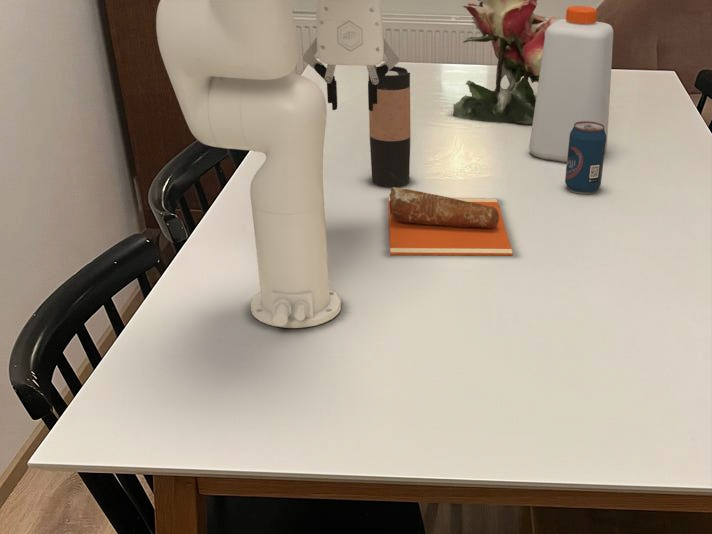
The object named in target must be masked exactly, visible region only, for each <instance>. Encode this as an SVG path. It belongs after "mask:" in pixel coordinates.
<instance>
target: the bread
mask: <svg viewBox="0 0 712 534" xmlns="http://www.w3.org/2000/svg"><path fill="white" fill-rule="evenodd" d="M389 197H390V202H389V201H388V206H389V205H390V215H391V216H392V218H393V219H397V220H399V221H402V222H407V223H414V224H426V225H441V226H451V227H466V228H468V227H471V228H493V227H496V226H497V224H498V222H499V213H498V211H497V209H496V208H494V207H491V206H486V205H481V204H476V203H472V202H467V201H462V200H458V199H453V198H454V197H449V196H443V195H439V194H433V193H429V192H424V191H420V190H419V191H418V190H414V189H409V188H400V187H390V193H389Z"/></svg>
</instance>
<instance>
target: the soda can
mask: <svg viewBox="0 0 712 534" xmlns="http://www.w3.org/2000/svg"><path fill="white" fill-rule="evenodd" d="M606 137H607V136H606V133H605V130H604V125H602V124H600V123H597V122H590V121H581V122H576V123H575V124H574V127H573V129H572V131H571V132H570V137H569V147H568V157H567V162H566V166H565V167H566V169H565V176H564V177H565V178H564V182H565V185H566V187H567V189H568V191H569V192H571V193H574V194H577V195H578V194H579V195H590V194H594V193H596V192H597V190H599V189H600V187H601V185H602V179H603V169H604V161H605V152H606V150H605V146H606ZM607 138H608V137H607Z"/></svg>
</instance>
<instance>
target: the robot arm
mask: <svg viewBox="0 0 712 534" xmlns="http://www.w3.org/2000/svg"><path fill="white" fill-rule="evenodd" d="M156 9H157V10H156V15H155V16H156V17H155V23H156V25H155V29H156V30H155V31H156V37H157V38H156V40H157V45H158V48H159V53H160V56H161V59H162V61H163V65H164V67H165V70H166V72H167V75H168V78H169V81H170V83H171V85H172V89H173V91H174V93H175V97H176V99H177V101H178V104H179V107H180V109H181V112H182V115H183V117H184V120H185V122H186V125H187V127H188V129H189V131H190V133H191V134H192V136H193V137H194V138H195V139H196V140H197V141H198V142H199V143H201V144H203V145H205V146H209V147H213V148H220V149H228V150H239V151H251V152H257V153H261V154H264V155H265V160H264V162H263V163H262V164H261V165H260V167H258V169H257V170H256V172H255V174H254V175H253V177H252V179H251V183H250V186H249V187H250V189H249V195H250V204H251V212H252V222H253V231H254V240H255V250H256V251H255V252H256V261H257V271H258V280H259V289H260V292H258V293H257V294H256V295H254V296H253V298H252V299H251V301H250V312H251V314H252V316H253V317H254V318H255V319H256V320H258V321H259V322H261V323H263V324H266V325H269V326H272V327H278V328H285V329H303V328H309V327H315V326H319V325H322V324H324V323H328V322H330V321H331V320H333V319H334V318H335V317H337V316H338V315H339V313H340V312H341V309H342V301H341V298H340V296H339V295H338V294H337V293H336V292H335V291H334V290H332V289H330V283H329V265H328V263H329V262H328V247H327V229H326V212H325V194H324V164H323V163H324V146H325V135H326V127H327V126H326V125H327V115H328V114H327V104H331V109H332V111H336V110H338V87H337V86H338V85H337V83H338V82H337V80H336V76H335V72H336V71H335V70H336V66H360V67H361V66H362V67H364V66H365V67H366V70H367V72H368V81H367V97H368V99H367V100H368V104H367V105H368V111H369V110H370V111H373V104H377V84H378V82H379V81H380V80H381V79H382V78H383V77H384V76H385V74H386V73H387V72H388V71H389V70H390V69H392V68H393V67H394V66H395V67H396V66H397V65H398V64H399V63H400V58H399V56H398V55H397V53H396V52H395V51H394V50H393V48H392V47H391V45H390V44H389V42H388V41H387V40H386V39H385V36H384V35H385V33H384V21H383V20H384V19H383V8H382V2H381V0H316V11H315V14H316V17H315V24H316V25H315V26H316V30H315V31H316V34H315V35H316V37H315V38H314V39H313V41H312V43H311V44H309V46H308V48H307V49H306V51H305V52H304V53H303V55H302V61H304V62H305V63H306V64H307V65H309V67H311V68H312V69H314V71H315V72H316V73H317V74H318V75H319V76H320V78H322V79H323V80H324V82H325V83H326V93H327V101H326V97H325V94H324V92H323V90H322V89H321V87H320V86H319V85H318V83H316V82H315V81H313V80H312V79H310V78H308V77H306V76H304V75H301V74H297V73H293V71H294V70H295V69H296V67H297V64H298V61H299V57H300V56H299V55H300V46H299V45H300V44H299V37H298V36H299V35H298V32H297V31H298V30H297V24H296V20H295V16H294V12H293V6H292V1H291V0H159V3H158V6H157V8H156ZM316 54H317V58H316V57H315V56H316ZM385 56H386V58H387V59H386V60H385V61H383V60H384V57H385ZM324 64H325V65H326V66H325V65H324ZM380 64H381V65H380ZM378 65H379V66H380V67H379V66H378ZM377 66H378V67H379V68H378V69H377V68H376V67H377ZM369 76H370V77H369Z"/></svg>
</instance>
